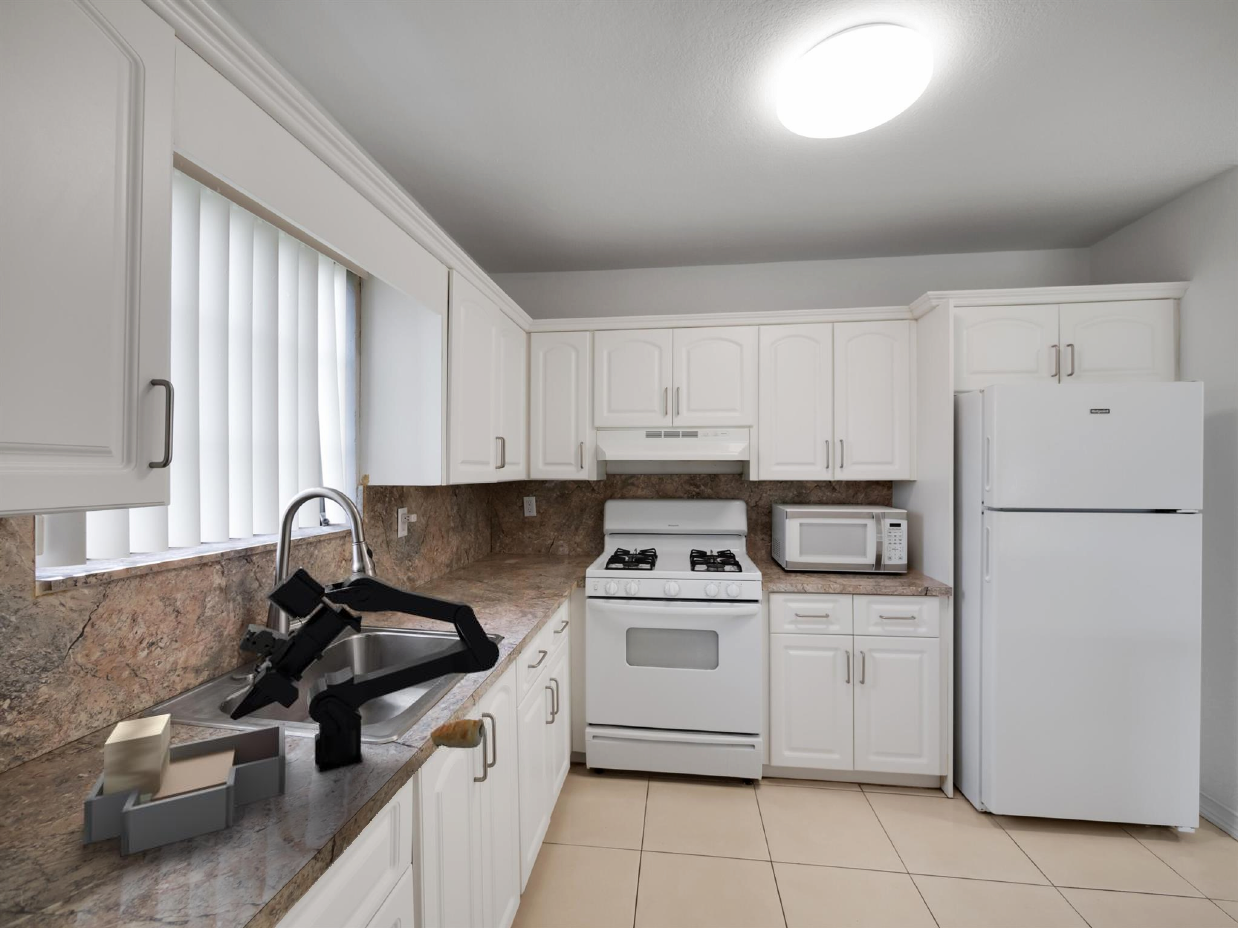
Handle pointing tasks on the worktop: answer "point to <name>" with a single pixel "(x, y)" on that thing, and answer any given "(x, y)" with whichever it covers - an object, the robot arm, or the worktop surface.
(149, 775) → the block
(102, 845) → the worktop surface
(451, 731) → the pastry
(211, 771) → the box
